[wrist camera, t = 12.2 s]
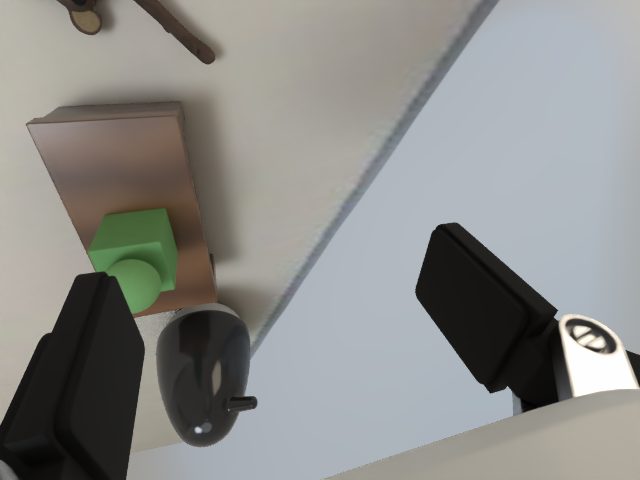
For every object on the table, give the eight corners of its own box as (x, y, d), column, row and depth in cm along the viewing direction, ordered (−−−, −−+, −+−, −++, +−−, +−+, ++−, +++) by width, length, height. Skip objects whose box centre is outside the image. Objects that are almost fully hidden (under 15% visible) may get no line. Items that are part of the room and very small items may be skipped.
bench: (56, 103, 26) (24, 123, 21) (180, 98, 28) (177, 115, 23) (128, 280, 36) (118, 321, 31) (215, 265, 38) (218, 301, 33)
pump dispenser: (261, 320, 45) (284, 432, 33) (195, 357, 45) (194, 483, 33) (216, 273, 39) (225, 391, 27) (140, 317, 39) (114, 454, 27)
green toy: (103, 214, 25) (71, 285, 19) (165, 207, 26) (155, 271, 20) (122, 260, 28) (99, 336, 21) (178, 251, 29) (172, 321, 22)
